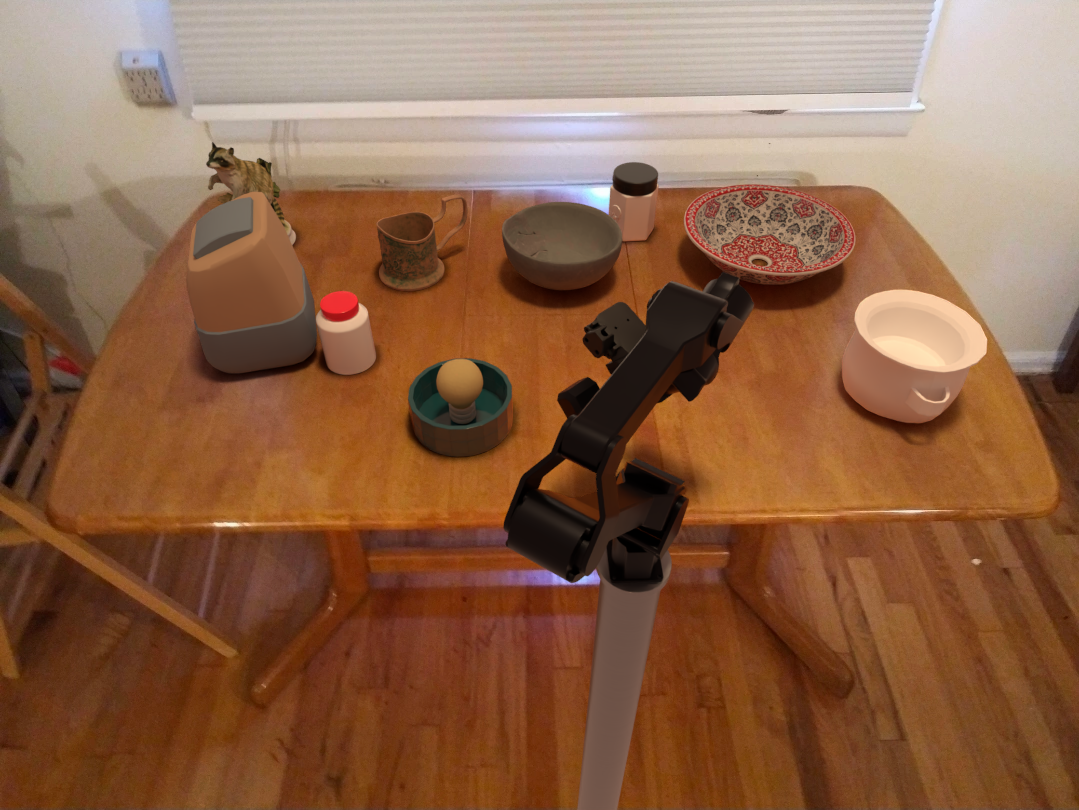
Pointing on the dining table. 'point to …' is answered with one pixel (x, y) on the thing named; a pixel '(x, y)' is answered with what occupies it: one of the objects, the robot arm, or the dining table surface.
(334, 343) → the pill bottle
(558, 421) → the dining table surface
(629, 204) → the jar
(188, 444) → the dining table surface
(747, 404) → the dining table surface
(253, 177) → the figurine
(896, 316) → the pot
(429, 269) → the mug
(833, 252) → the ceramic bowl
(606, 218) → the bowl
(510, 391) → the round teal dish
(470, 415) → the light bulb
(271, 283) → the trash can
